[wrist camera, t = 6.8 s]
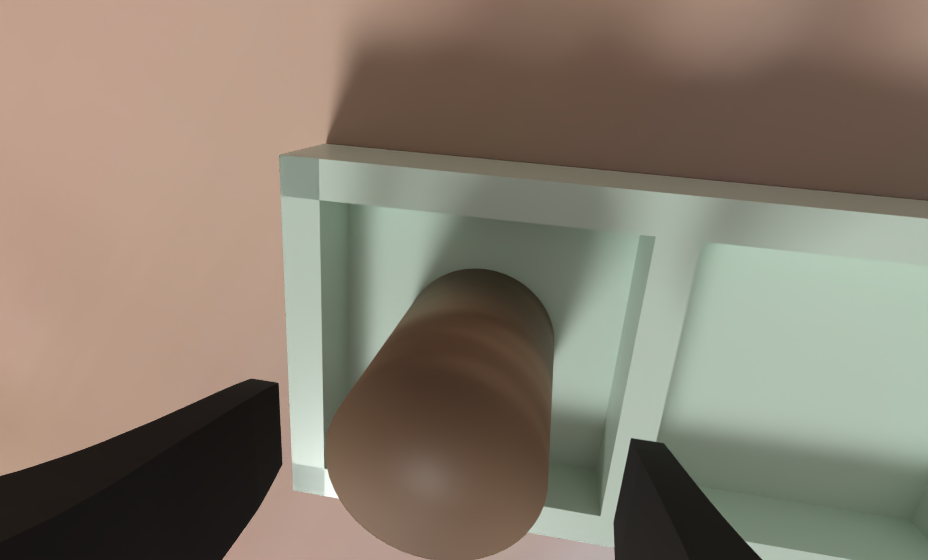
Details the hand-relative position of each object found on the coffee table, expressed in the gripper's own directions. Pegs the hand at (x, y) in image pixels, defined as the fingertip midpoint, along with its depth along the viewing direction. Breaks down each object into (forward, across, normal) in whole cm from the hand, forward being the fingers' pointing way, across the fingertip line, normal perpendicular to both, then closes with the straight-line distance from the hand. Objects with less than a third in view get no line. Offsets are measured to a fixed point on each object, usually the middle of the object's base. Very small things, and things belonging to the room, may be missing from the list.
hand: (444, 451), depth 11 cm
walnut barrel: (+6, 0, 0) cm, 6 cm away
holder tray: (+6, -4, 0) cm, 8 cm away
